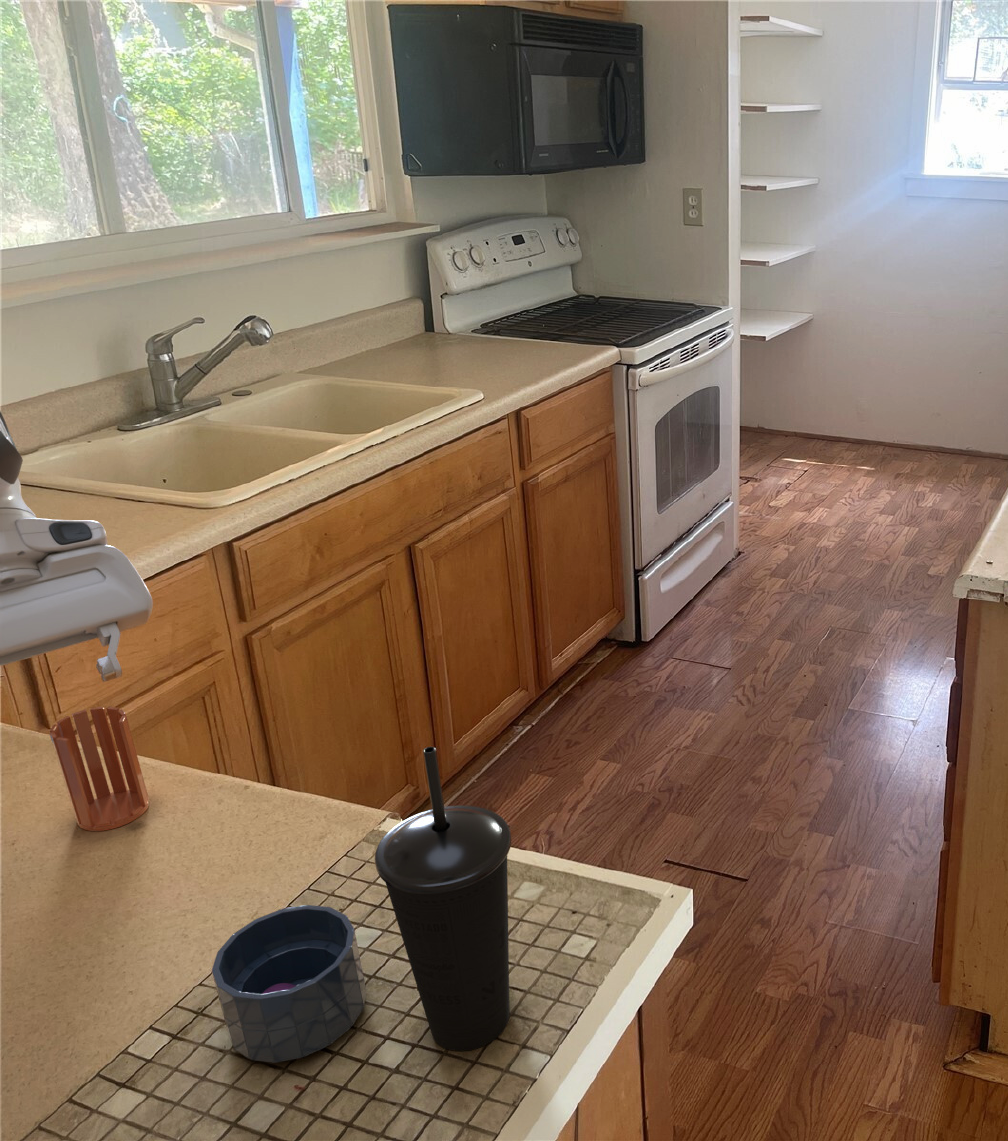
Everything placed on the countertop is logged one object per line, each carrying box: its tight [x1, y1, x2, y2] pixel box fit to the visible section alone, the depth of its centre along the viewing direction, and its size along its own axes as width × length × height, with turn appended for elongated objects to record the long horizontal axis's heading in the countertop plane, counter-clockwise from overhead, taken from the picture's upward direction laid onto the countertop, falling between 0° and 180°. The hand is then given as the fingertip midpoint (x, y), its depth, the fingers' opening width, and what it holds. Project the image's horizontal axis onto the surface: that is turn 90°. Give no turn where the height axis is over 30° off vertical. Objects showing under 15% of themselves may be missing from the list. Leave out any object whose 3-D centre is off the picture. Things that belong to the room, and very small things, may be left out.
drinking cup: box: [374, 746, 512, 1052], centre depth 63 cm, size 8×8×20 cm
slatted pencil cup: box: [49, 706, 150, 832], centre depth 87 cm, size 5×5×8 cm
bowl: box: [211, 904, 367, 1064], centre depth 67 cm, size 8×8×6 cm
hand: (53, 695), depth 93 cm, fingers open, 8 cm apart
